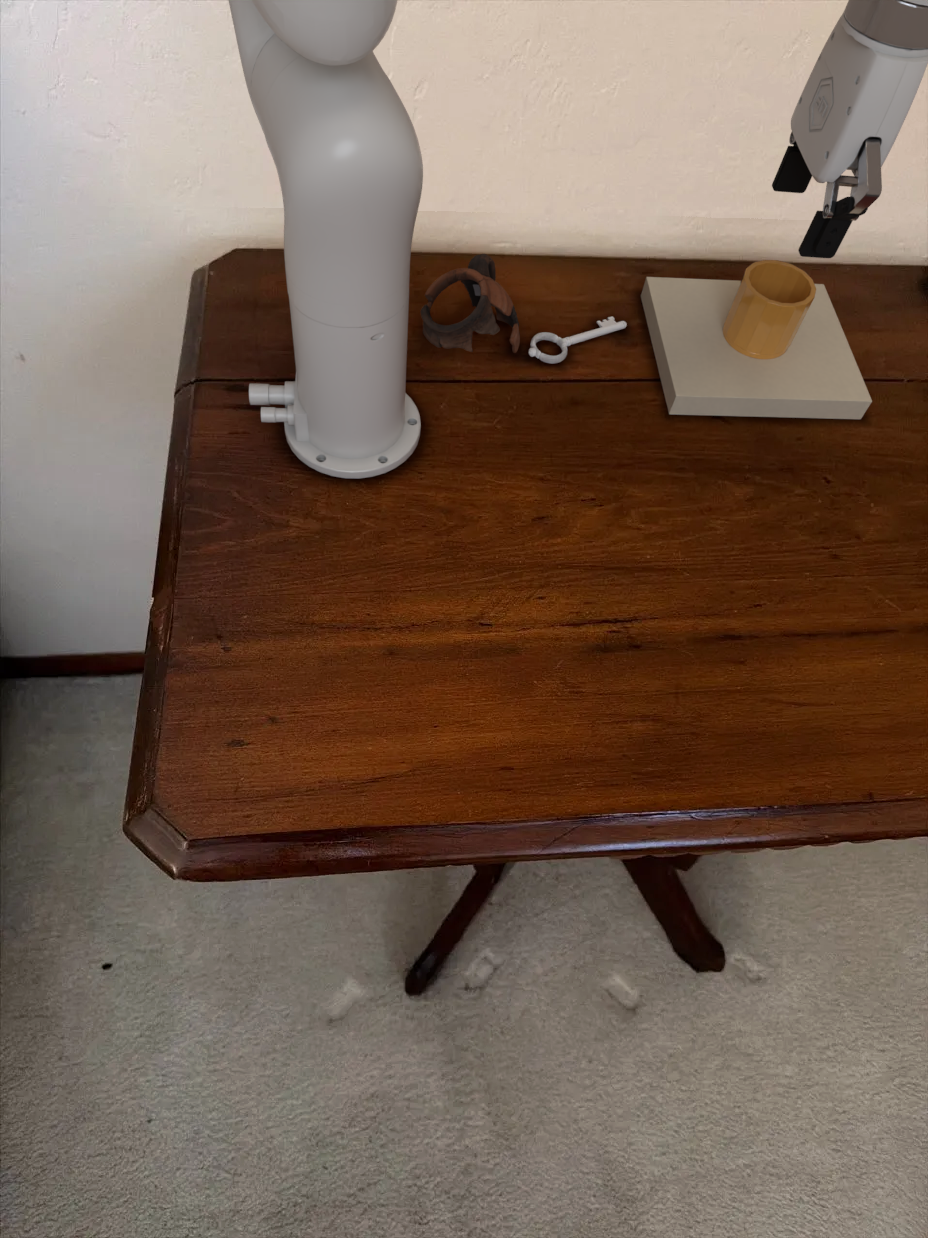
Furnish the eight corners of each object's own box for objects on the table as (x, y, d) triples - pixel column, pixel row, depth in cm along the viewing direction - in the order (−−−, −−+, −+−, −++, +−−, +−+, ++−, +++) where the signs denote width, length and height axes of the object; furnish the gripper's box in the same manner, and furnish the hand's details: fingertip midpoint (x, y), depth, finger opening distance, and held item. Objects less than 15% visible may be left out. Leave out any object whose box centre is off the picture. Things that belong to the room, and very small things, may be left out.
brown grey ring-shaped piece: (524, 377, 89) (494, 328, 82) (440, 391, 93) (404, 345, 86) (532, 278, 93) (504, 223, 85) (450, 295, 96) (417, 244, 89)
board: (668, 414, 87) (676, 395, 85) (640, 295, 97) (646, 276, 95) (860, 419, 89) (872, 401, 87) (814, 302, 99) (823, 283, 97)
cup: (730, 358, 89) (753, 304, 83) (716, 312, 92) (737, 258, 87) (796, 360, 89) (824, 307, 84) (780, 314, 93) (805, 261, 88)
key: (518, 344, 91) (539, 370, 89) (519, 336, 90) (540, 362, 88) (614, 315, 94) (636, 339, 93) (616, 308, 94) (638, 332, 92)
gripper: (820, -45, 70) (740, 164, 84) (887, 65, 60) (784, 280, 75) (908, -36, 71) (814, 170, 85) (988, 75, 61) (867, 285, 76)
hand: (800, 221), depth 80 cm, fingers open, 9 cm apart
